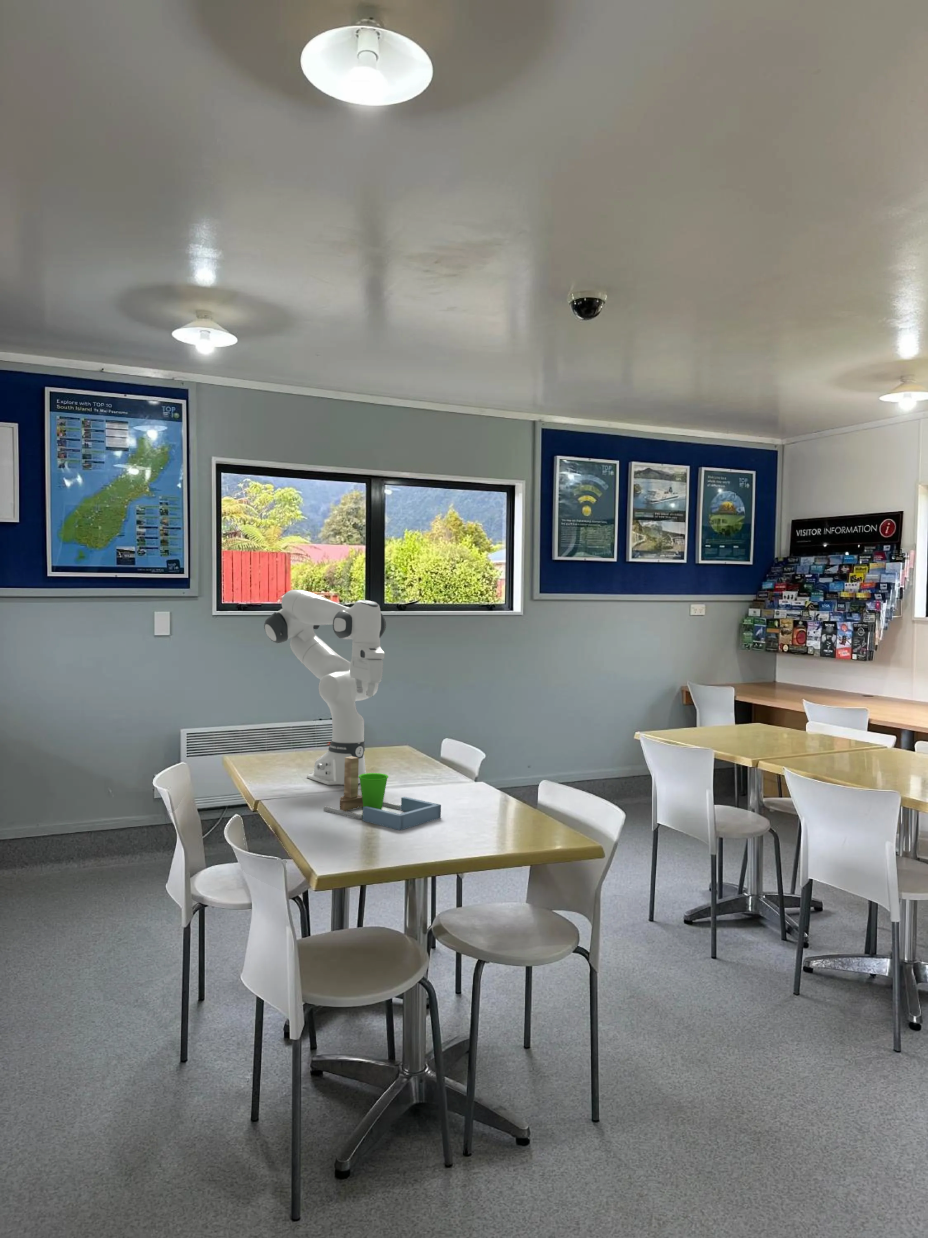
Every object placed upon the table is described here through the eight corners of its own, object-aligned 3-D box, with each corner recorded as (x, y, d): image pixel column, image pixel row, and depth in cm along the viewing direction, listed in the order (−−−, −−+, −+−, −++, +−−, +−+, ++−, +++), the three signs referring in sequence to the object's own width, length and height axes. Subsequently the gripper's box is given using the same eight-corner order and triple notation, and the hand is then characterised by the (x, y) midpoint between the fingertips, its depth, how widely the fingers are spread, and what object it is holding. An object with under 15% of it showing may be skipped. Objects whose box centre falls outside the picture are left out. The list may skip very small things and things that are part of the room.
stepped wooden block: (332, 808, 255) (334, 759, 255) (360, 801, 264) (362, 754, 264) (344, 811, 252) (345, 761, 252) (372, 804, 261) (373, 756, 261)
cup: (352, 814, 250) (353, 777, 250) (366, 807, 259) (366, 772, 259) (379, 817, 247) (380, 780, 247) (392, 810, 256) (393, 774, 255)
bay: (362, 820, 243) (362, 807, 243) (404, 809, 257) (404, 796, 257) (399, 830, 234) (399, 816, 234) (440, 818, 248) (440, 804, 248)
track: (323, 810, 253) (323, 806, 253) (364, 800, 267) (364, 797, 267) (361, 820, 244) (361, 816, 244) (401, 809, 257) (402, 805, 257)
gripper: (345, 649, 274) (344, 691, 274) (367, 653, 256) (366, 698, 256) (364, 649, 277) (362, 690, 277) (386, 653, 259) (385, 698, 259)
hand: (364, 694), depth 267 cm, fingers open, 8 cm apart
